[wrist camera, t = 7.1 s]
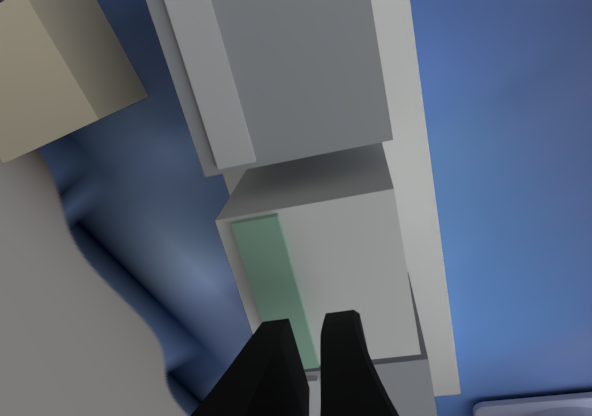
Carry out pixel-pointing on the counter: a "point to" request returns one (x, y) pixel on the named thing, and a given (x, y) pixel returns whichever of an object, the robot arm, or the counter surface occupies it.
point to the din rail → (321, 131)
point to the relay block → (58, 72)
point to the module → (322, 249)
